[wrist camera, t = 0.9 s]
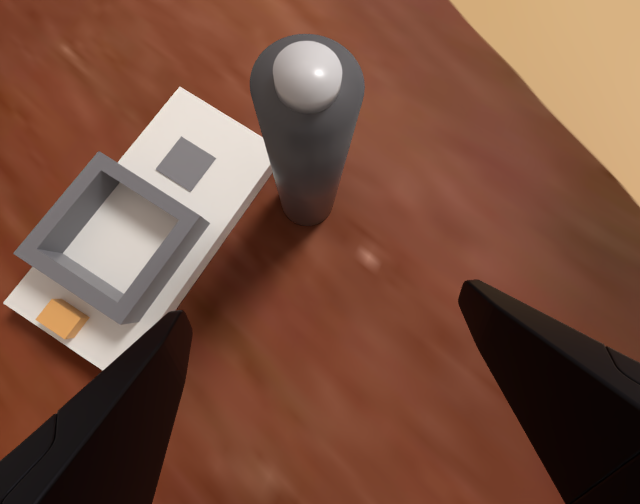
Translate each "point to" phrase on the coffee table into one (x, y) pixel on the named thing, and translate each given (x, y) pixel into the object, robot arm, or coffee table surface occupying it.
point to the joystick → (307, 119)
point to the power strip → (139, 229)
